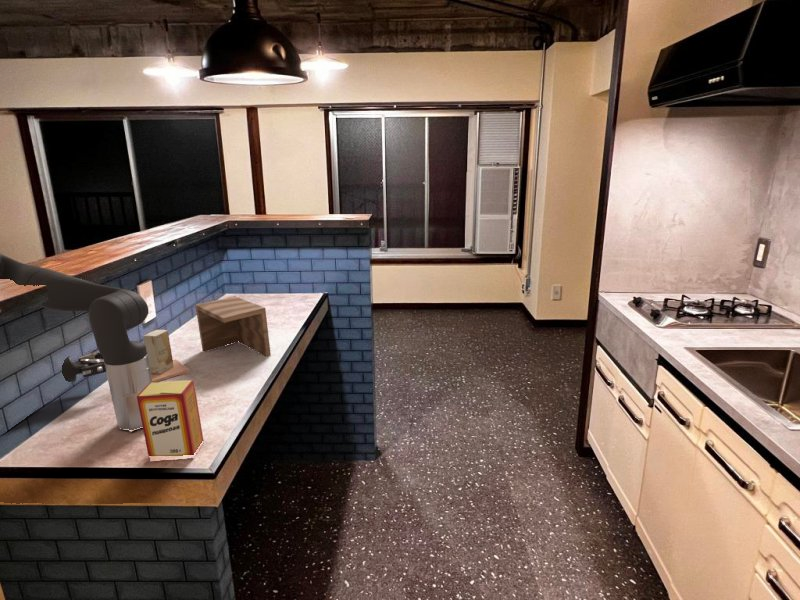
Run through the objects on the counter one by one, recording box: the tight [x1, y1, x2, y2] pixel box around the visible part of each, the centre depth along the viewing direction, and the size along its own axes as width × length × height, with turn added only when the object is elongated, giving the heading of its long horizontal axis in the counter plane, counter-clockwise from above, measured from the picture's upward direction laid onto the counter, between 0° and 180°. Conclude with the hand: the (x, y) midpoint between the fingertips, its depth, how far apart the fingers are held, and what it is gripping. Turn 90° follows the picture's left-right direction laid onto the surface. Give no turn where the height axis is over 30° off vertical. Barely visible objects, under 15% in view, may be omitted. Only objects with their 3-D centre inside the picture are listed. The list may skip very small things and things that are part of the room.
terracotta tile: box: [151, 359, 191, 383], centre depth 154 cm, size 12×12×1 cm
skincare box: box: [142, 329, 174, 374], centre depth 152 cm, size 6×4×12 cm
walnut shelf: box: [195, 296, 272, 358], centre depth 165 cm, size 22×14×16 cm, turn 43°
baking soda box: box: [137, 379, 204, 457], centre depth 109 cm, size 10×6×16 cm
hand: (118, 355), depth 144 cm, fingers open, 8 cm apart
